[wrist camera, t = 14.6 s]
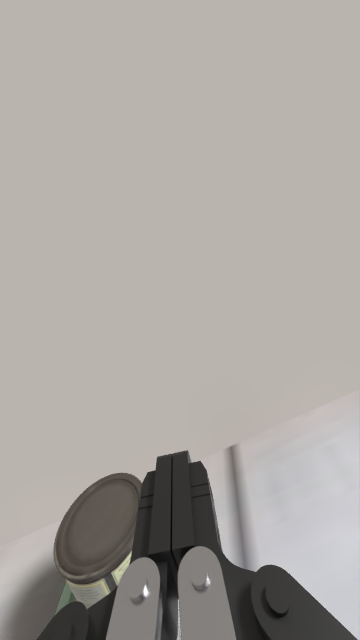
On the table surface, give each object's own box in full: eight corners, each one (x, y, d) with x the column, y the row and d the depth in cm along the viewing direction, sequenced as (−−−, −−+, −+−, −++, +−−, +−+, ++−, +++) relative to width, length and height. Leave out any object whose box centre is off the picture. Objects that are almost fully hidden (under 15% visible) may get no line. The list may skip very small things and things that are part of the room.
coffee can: (117, 541, 33) (88, 472, 30) (179, 544, 31) (155, 471, 28) (76, 658, 24) (28, 574, 20) (163, 673, 22) (124, 583, 18)
